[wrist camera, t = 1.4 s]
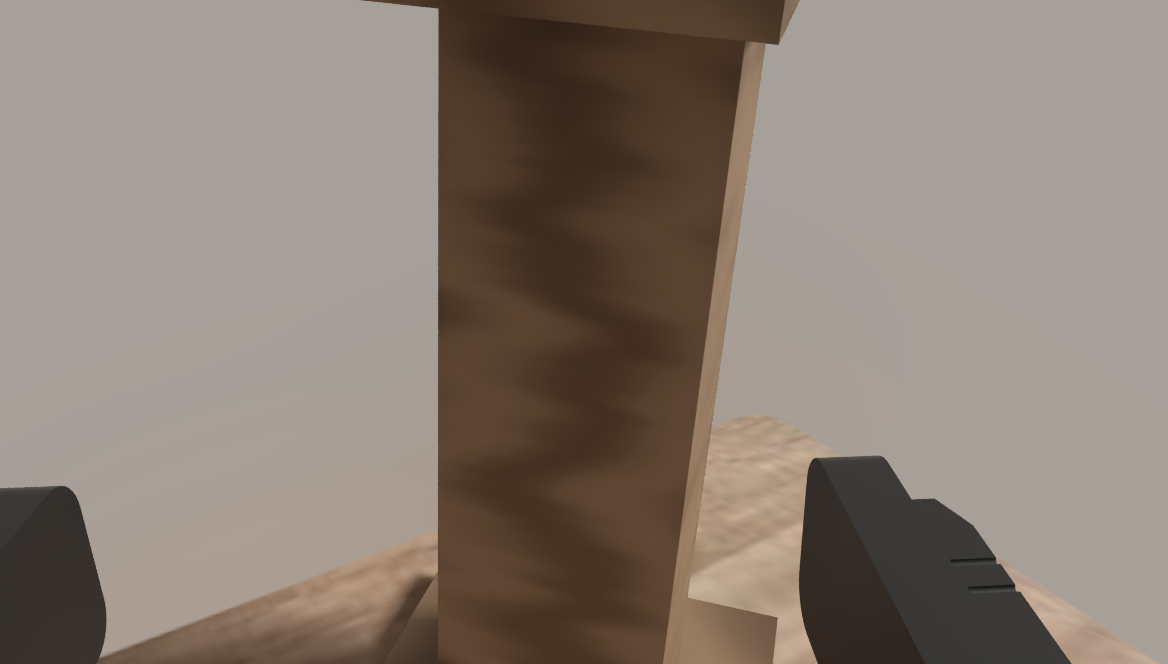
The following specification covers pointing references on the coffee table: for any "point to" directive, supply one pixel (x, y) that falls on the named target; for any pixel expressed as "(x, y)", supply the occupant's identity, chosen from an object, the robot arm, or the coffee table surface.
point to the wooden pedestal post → (585, 324)
